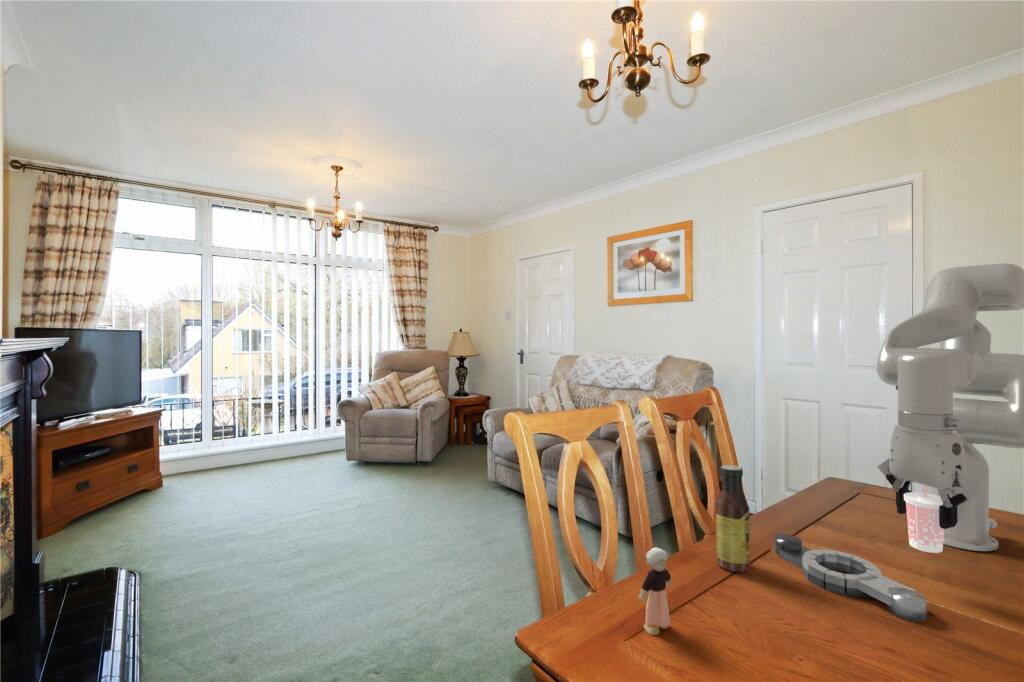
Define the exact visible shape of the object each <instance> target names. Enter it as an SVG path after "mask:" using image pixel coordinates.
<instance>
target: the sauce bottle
mask: <svg viewBox="0 0 1024 682" xmlns="http://www.w3.org/2000/svg"><path fill="white" fill-rule="evenodd" d="M743 470H744V469H743V467H742V466H737V465H733V464H728V465H727V464H726V465H725V464H724V465H721V466H720V475H721V488H722V489H721V491H720V492H719V494H718V495H717V497H716V500H715V504H716V505H715V509H716V511H715V539H716V541H715V542H716V545H715V546H716V551H715V552H716V558H717V559H716V561H717V565H718V566H719V567H721V568H723V569H724V570H727V571H730V572H734V573H735V572H736V573H737V572H739V573H743V572H746V571H748V570H749V569H750V562H751V525H750V523H751V522H750V521H751V519H750V517H751V515H750V506H749V503H748V500H747V497H746V495H745V492H744V490H743V475H744V472H743Z"/></svg>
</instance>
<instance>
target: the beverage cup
mask: <svg viewBox="0 0 1024 682" xmlns="http://www.w3.org/2000/svg"><path fill="white" fill-rule="evenodd" d="M922 486H923V487H922V488H923V489H922V490H923V492H918V491H912V492H908V493H905V494H904V501H906V510H907V513H906V519H907V520H906V521H907V531H908V532H907V533H908V542H909V543H908V545H909V546H910V547H912V548H914V549H915V550H919V551H921V552H925V553H926V552H927V553H933V554H938V553H942V552H943V548H944V544H943V539H944V529H943V528H941V527H940V526H939V506H941V505H943V502H942V500H941V498H940V497H939V496H936V495H932V494H931V493H929V492H928V486H924V485H922Z"/></svg>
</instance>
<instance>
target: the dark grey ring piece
mask: <svg viewBox="0 0 1024 682" xmlns="http://www.w3.org/2000/svg"><path fill="white" fill-rule="evenodd" d="M811 550H812V549H810V548H808V547H806V546H804V545H803V540H802V539H801V538H799V537H797V536H795V535H791V534H786V533H785V534H783V533H779V534H776V535H774V552H775V554H776V555H778V556H779V558H781V559H783V560H785V561H787V562H789V563H791V564H793V565H794V566H796V567H799V568H800V569H801V571H802V572H801V573H802V574H803V575H804V577H805V578H806V579H807V580H808V582H810V583H812V584H813V585H816V586H818V587H819V588H821V589H823V590H825V591H828V592H831V593H836V594H839V595H841V596H847V597H856V598H870V597H872V596H870V595H868V594H866V593H864V592H862V591H860V590H858V589H856V588H847V587H846V586H845V587H843V586H839V585H836V584H832V583H829V582H825V581H823V580H821V579H819V578H817V577H815V576H814V575H812V574H810V573H808V572H807V570H806V569H805V568H804V567H803V565H802V557H803V555H804V553H805V552H806V551H811ZM818 564H819V565H821V566H823V567H825V568H827V569H829V570H833V571H840V572H844V573H846V574H853V575H859V574H863V572H862V571H861V570H858V569H856V568H854V567H852V566H850V565H846V564H842V563H838V562H828V561H824V562H819V563H818Z"/></svg>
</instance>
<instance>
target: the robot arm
mask: <svg viewBox="0 0 1024 682" xmlns="http://www.w3.org/2000/svg"><path fill="white" fill-rule="evenodd" d="M1023 309H1024V268H1022V267H1021V266H1020V265H1017V264H1013V263H1008V262H1007V263H1003V262H1001V263H991V264H989V263H988V264H978V265H976V264H975V265H967V266H966V265H965V266H964V265H963V266H956V267H949V268H946V269H942V270H941V271H938V272H937V273H936V274H934V275H933V276H932V278H931V279H930V282H929V283H928V284H927V286H926V289H925V298H924V301H923V305H922V307H921V311H920V312H918V313H916V314H914V315H912V316H911V317H908V318H907V319H905V320H904V321H902V322H900V323H898V324H897V325H895V326H894V327H893V328H892V329H891V330H889V332H888V333H887V334H886V335H885V337H884V340H883V343H882V345H881V347H880V350H879V353H878V358H877V361H876V373H877V375H878V377H879V379H880V380H881V381H882V382H883V383H885V384H887V385H890V386H897V424H895V425H894V428H893V430H892V431H893V432H892V435H891V441H890V446H889V458H887V459H886V460H885V461H883V462H882V463H880V464H879V465H878V466H877V467H878V470H879V471H880V472H881V473H882V474H883V475H884V476H885V479H886V481H887V482H888V483H889V484H890V485H891V486H892V487H891V488H892V490H893V492H895V506H896V513H897V514H899V515H904V514H907V510H906V501H904V494H905V493H908V492H913V491H912V490H910V487H911V485H912V483H914V484H916V485H921V486H923V485H924V486H927V488H928V487H929V488H930V494H932V495H936V496H939V497H940V498H941V500H942V502H943V505H941V506H939V526H940V527H941V528H943V529H944V539H943V545H945V546H949V547H952V548H957V549H962V550H967V551H975V552H992V551H993V550H994V551H996V550H998V549H999V541H998V540H997V539H996V538H994V537H993V536H992V535H990V534H989V530H991V529H995V528H997V527H998V523H997V521H996V520H995V519H993V518H989V517H990V515H989V514H990V513H989V512H990V511H989V509H990V508H989V506H990V505H989V503H990V502H989V499H990V498H989V497H990V495H989V494H990V492H989V490H990V488H989V487H990V485H989V483H990V468H989V464H988V463H989V462H988V461H987V459H986V458H985V457H984V455H983V454H982V453H981V452H980V451H979V450H978V449H977V448H976V447H975V446H974V445H986V446H988V445H989V446H994V447H1003V448H1009V449H1010V448H1012V449H1024V354H1022V353H1021V354H1019V353H1008V352H1007V353H1001V352H999V353H998V352H991V346H992V345H991V344H992V334H991V331H990V330H989V329H988V328H987V327H986V326H985V325H984V324H983V323H982V322H980V321H979V320H978V319H977V314H978V312H999V311H1000V312H1003V311H1005V312H1006V311H1009V312H1010V311H1020V310H1023ZM937 343H940V344H939V348H935V347H934V348H932V347H924V346H928V345H932V344H937ZM954 394H956V395H957V394H958V395H959V394H960V395H969V396H982V397H997V398H998V397H999V398H1004V399H1005V400H1007V401H999V400H998V401H997V400H984V399H975V398H960V397H954ZM994 551H993V552H994Z"/></svg>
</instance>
